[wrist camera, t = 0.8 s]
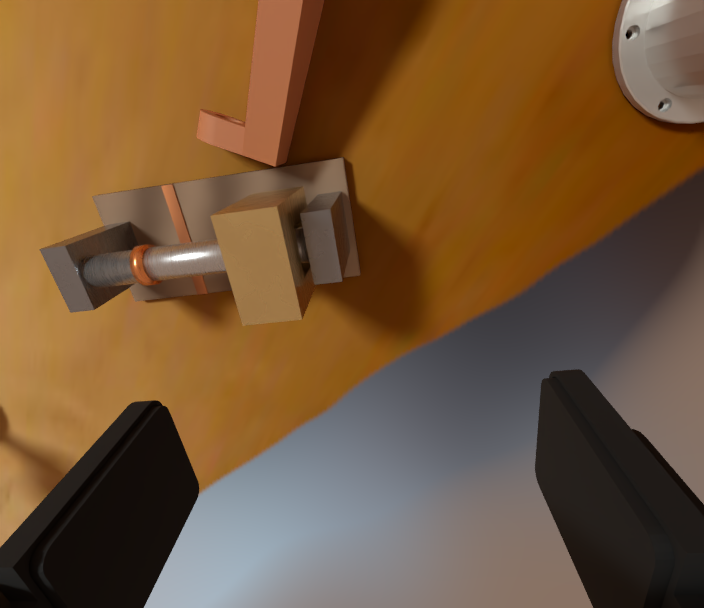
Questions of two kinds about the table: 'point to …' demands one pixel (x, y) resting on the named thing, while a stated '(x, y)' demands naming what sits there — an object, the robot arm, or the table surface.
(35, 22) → the table surface
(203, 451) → the table surface
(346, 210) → the base board
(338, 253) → the pipe rail
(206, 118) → the crank
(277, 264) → the collar
